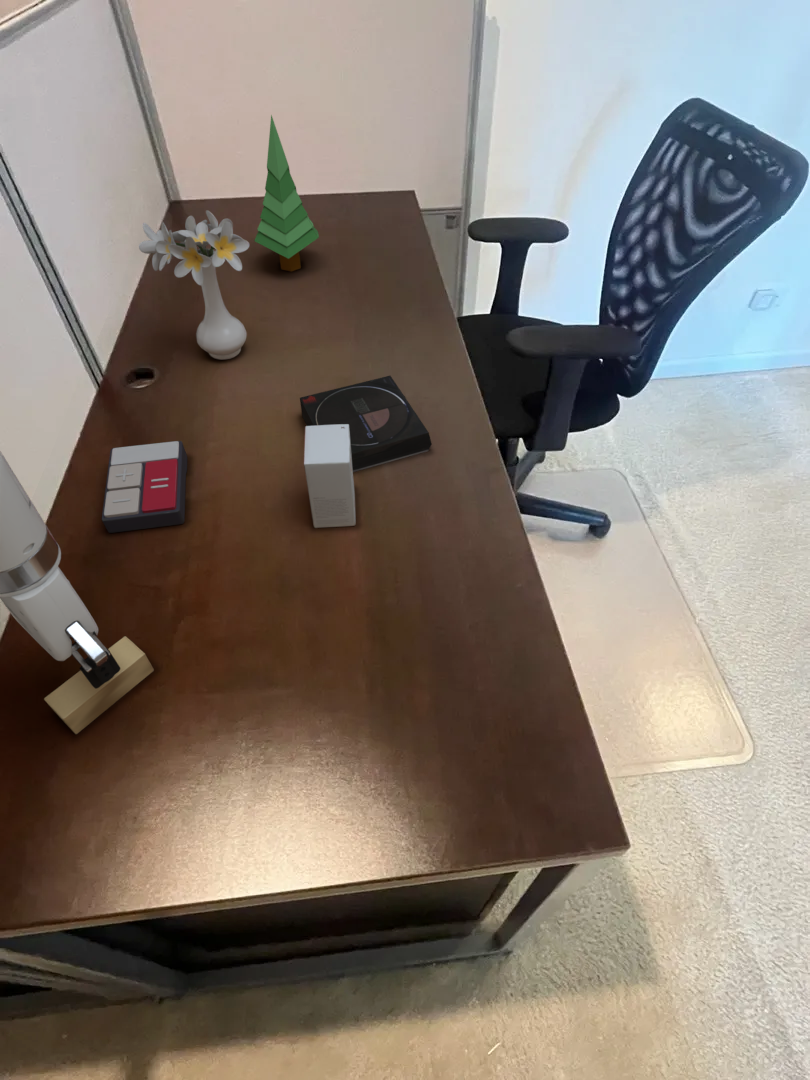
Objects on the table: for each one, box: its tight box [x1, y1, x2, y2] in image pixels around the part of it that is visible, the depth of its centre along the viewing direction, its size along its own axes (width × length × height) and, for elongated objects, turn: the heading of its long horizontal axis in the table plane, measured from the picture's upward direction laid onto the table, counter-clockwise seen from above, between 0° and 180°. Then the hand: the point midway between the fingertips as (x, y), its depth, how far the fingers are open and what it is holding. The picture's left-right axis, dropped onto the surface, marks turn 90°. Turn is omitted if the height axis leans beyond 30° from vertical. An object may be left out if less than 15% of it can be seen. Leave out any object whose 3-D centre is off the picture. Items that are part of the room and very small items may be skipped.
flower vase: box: [138, 209, 250, 361], centre depth 119 cm, size 13×18×25 cm
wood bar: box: [43, 636, 155, 735], centre depth 80 cm, size 11×4×4 cm, turn 140°
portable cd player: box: [299, 375, 433, 473], centre depth 111 cm, size 16×17×4 cm
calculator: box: [101, 440, 188, 534], centre depth 102 cm, size 11×4×15 cm
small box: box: [303, 424, 357, 529], centre depth 97 cm, size 8×6×13 cm
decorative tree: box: [254, 114, 320, 272], centre depth 139 cm, size 14×16×30 cm
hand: (81, 653), depth 74 cm, fingers open, 9 cm apart
